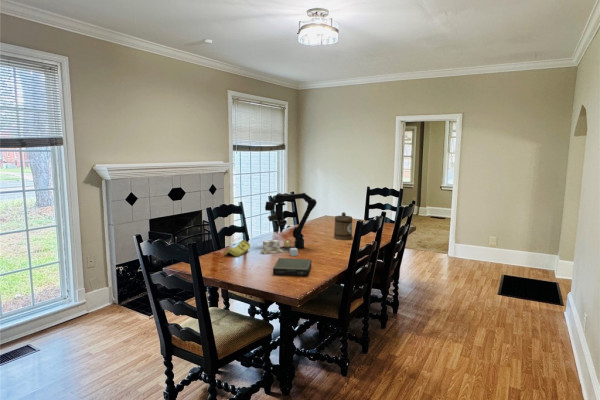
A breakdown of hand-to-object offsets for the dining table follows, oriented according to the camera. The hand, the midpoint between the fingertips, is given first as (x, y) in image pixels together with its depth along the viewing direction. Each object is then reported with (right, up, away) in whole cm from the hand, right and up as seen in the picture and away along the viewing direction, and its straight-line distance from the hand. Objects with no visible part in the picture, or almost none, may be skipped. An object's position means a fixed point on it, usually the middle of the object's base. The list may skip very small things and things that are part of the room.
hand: (279, 231), depth 282 cm
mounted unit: (0, -14, -12) cm, 18 cm away
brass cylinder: (+6, -12, -10) cm, 17 cm away
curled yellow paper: (-28, -15, -17) cm, 36 cm away
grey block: (+11, -15, -21) cm, 28 cm away
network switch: (+11, -20, -54) cm, 59 cm away
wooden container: (+52, -9, +33) cm, 62 cm away
